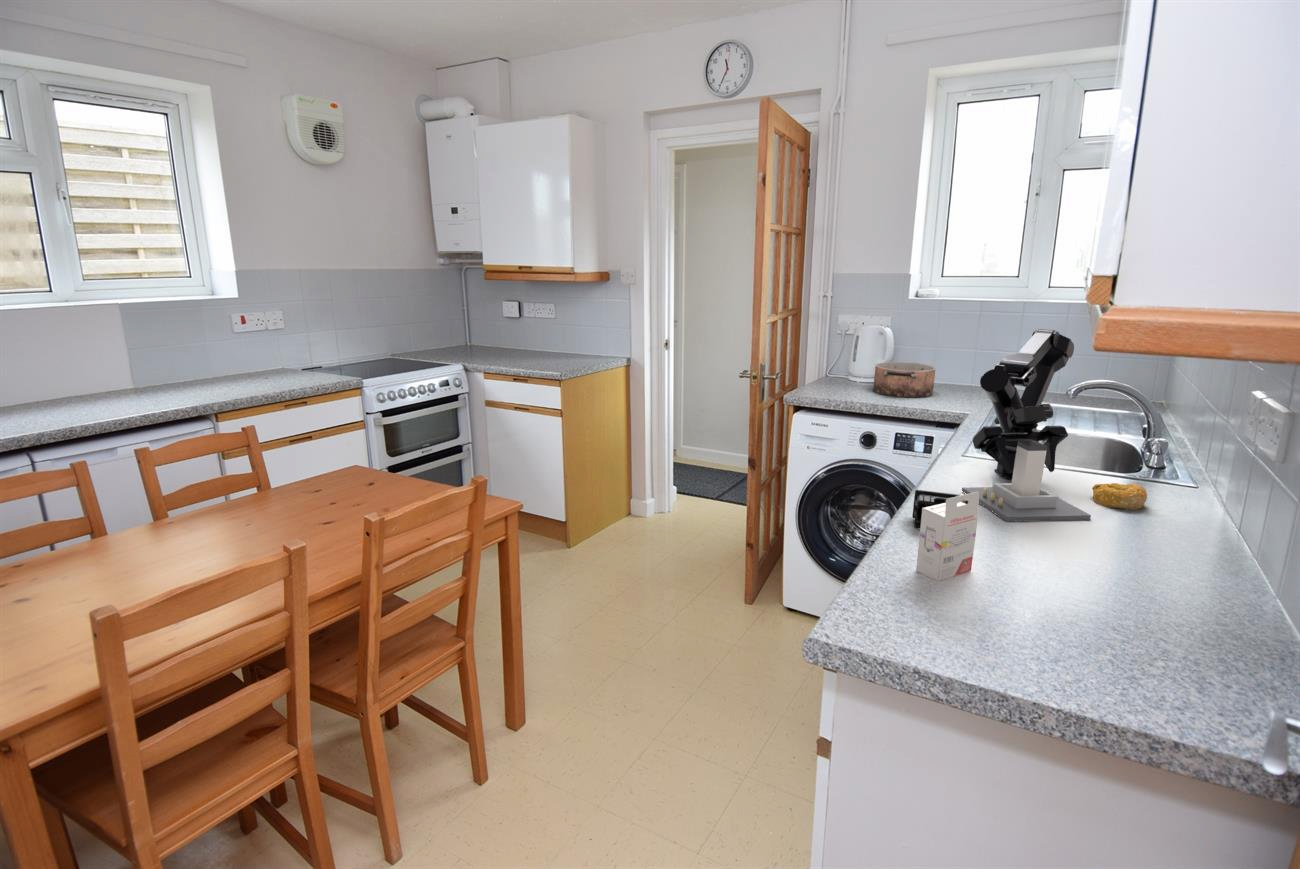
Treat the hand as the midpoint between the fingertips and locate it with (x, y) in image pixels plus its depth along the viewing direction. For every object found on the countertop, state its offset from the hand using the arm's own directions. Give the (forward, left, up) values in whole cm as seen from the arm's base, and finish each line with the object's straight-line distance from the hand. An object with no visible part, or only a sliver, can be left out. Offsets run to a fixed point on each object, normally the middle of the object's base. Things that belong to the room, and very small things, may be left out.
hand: (1031, 471), depth 144 cm
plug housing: (0, -1, -7) cm, 7 cm away
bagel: (-22, -2, -9) cm, 24 cm away
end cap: (+24, +9, -8) cm, 27 cm away
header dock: (0, -1, -8) cm, 8 cm away
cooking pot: (-27, -125, -9) cm, 128 cm away
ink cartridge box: (+33, +29, -8) cm, 44 cm away
